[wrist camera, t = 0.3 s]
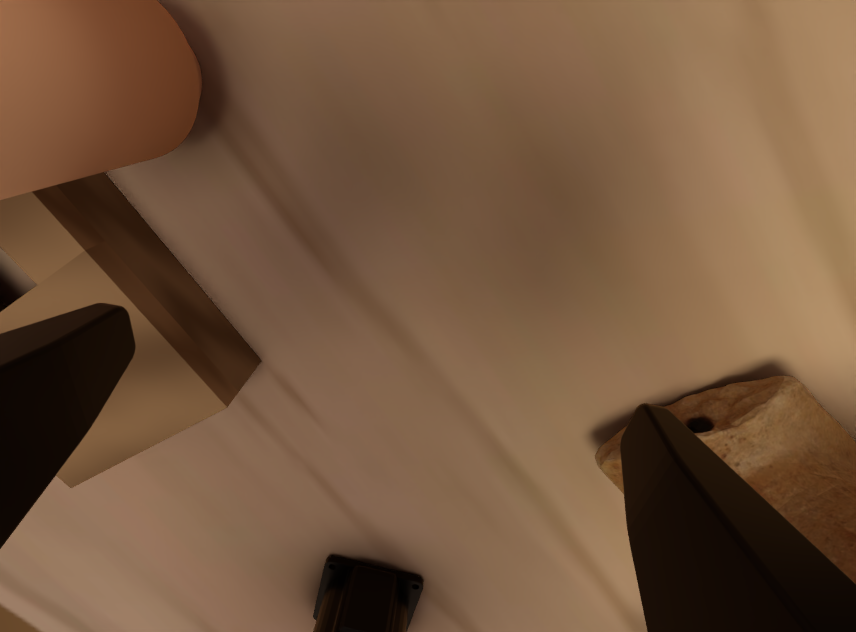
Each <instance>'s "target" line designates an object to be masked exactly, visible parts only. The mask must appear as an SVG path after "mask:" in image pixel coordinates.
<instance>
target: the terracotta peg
mask: <svg viewBox="0 0 856 632" xmlns="http://www.w3.org/2000/svg"><path fill="white" fill-rule="evenodd" d="M201 92H202V74H201V69H200V65H199V63H198V60H197V58H196V56H195V54H194V52H193V50H192V49H191V47H190V46H189V44H188V42H187V40H186V38H185V36H184V34H183V33H182V31H181V29H180V28H179V26H178V25H177V23H176V22H175V20H174V19H173V18H172V16H171V15H170V14H169V13H168V11H167V10H166V9H165V8H164V7H163V6H162V5H161V4H160V3H159V2H158V1H157V0H0V200H3V199H6V198H10V197H14V196H17V195H21V194H25V193H28V192H32V191H36V190H39V189H43V188H47V187H50V186H54V185H58V184H61V183H65V182H69V181H73V180H76V179H80V178H84V177H87V176H91V175H95V174H98V173H102V172H106V171H109V170H113V169H117V168H120V167H124V166H128V165H131V164H135V163H139V162H142V161H146V160H150V159H154V158H157V157H160V156H163V155H165V154H167V153H169V152H170V151H172V150H174V149H175V148H176V147H177V146H178V145H180V144H181V143H182V142H183V140H184V139H185V138H186V137H187V135H188V134H189V132H190V130H191V128H192V127H193V124H194V121H195V119H196V115H197V111H198V106H199V99H200V96H201Z"/></svg>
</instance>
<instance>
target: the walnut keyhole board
mask: <svg viewBox="0 0 856 632" xmlns="http://www.w3.org/2000/svg"><path fill="white" fill-rule="evenodd" d="M0 247H1V248H2V249H3V250H4V251H5V252H6V253H7V254H8V255H9V256H10V257H11V258H12V259H13V260H14V262H15V263H16V264H17V265H18V266H19V267H20V268H21V269H22V270H23V271H24V272H25V273H26V274H27V275H28V276H29V277H30V278H31V279H32V280H33V281H34V282H35V283H36V284H37V286H35V287H34V288H33V289H31V290H30V291H29V292H27V293H26V294H24V295H23V296H22V297H20V298H19V299H18V300H16V301H15V302H14V303H12V304H11V305H9V306H8V307H7V308H6V307H5V306H4V305H3V304H2V303H1V302H0V334H1V333H4V332H7V331H10V330H14V329H17V328H20V327H23V326H26V325H29V324H32V323H36V322H39V321H42V320H45V319H48V318H51V317H55V316H58V315H61V314H64V313H67V312H70V311H74V310H77V309H80V308H83V307H86V306H89V305H92V304H96V303H108V304H113V305H118V306H122V307H124V308H125V309H126V310H127V311H128V313H129V317H130V321H131V325H132V330H133V334H134V339H135V344H136V349H135V354H134V356H133V358H132V360H131V362H130V364H129V365H128V367H127V369H126V370H125V372H124V374H123V375H122V377H121V379H120V380H119V382H118V384H117V385H116V387H115V389H114V390H113V392H112V394H111V395H110V397H109V399H108V400H107V402H106V404H105V405H104V407H103V409H102V411H101V412H100V414H99V416H98V417H97V419H96V420H95V422H94V423H93V425H92V427H91V428H90V430H89V431H88V432H87V434H86V435H85V437H84V438H83V440H82V441H81V442H80V444H79V445H78V446H77V448H76V449H75V450H74V452H73V453H72V454H71V456H70V457H69V458H68V460H67V461H66V462H65V464H64V465H63V466H62V468H61V469H60V470H59V472H58V473H57V474H56V476H57V477H58V478H60V479H61V480H62V481H63V482H64V483H65V484H66V485H68V486H69V487H70V488H72V487H74V486H76V485H78V484H80V483H82V482H84V481H86V480H88V479H90V478H92V477H94V476H96V475H98V474H99V473H101V472H103V471H105V470H107V469H109V468H111V467H113V466H115V465H117V464H119V463H121V462H123V461H125V460H127V459H128V458H130V457H132V456H134V455H136V454H138V453H140V452H142V451H144V450H146V449H148V448H150V447H152V446H154V445H156V444H157V443H159V442H161V441H163V440H165V439H167V438H169V437H171V436H173V435H175V434H177V433H179V432H181V431H183V430H184V429H186V428H188V427H190V426H192V425H194V424H196V423H198V422H200V421H202V420H204V419H206V418H208V417H210V416H212V415H213V414H215V413H217V412H219V411H221V410H223V409H225V408H227V407H228V406H229V404H230V403H231V402H232V400H233V399H234V397H235V396H236V395H237V393H238V392H239V391H240V389H241V388H242V387H243V385H244V384H245V383H246V381H247V380H248V378H249V377H250V376H251V374H252V373H253V372H254V370H255V369H256V368H257V366H258V365H259V364H260V362H261V360H260V359H259V358H258V356H257V355H256V354H255V353H254V352H253V350H252V349H251V348H250V347H249V346H248V344H247V343H246V342H245V341H244V340H243V338H242V337H241V336H240V335H239V334H238V332H237V331H236V330H235V329H234V328H233V326H232V325H231V324H230V323H229V322H228V320H227V319H226V318H225V317H224V316H223V314H222V313H221V312H220V311H219V310H218V308H217V307H216V306H215V305H214V304H213V303H212V301H211V300H210V299H209V298H208V297H207V295H206V294H205V293H204V292H203V291H202V289H201V288H200V287H199V286H198V285H197V283H196V282H195V281H194V280H193V279H192V277H191V276H190V275H189V274H188V273H187V271H186V270H185V269H184V268H183V267H182V265H181V264H180V263H179V262H178V261H177V259H176V258H175V257H174V256H173V255H172V254H171V252H170V251H169V250H168V249H167V248H166V246H165V245H164V244H163V243H162V242H161V240H160V239H159V238H158V237H157V236H156V234H155V233H154V232H153V231H152V230H151V228H150V227H149V226H148V225H147V224H146V222H145V221H144V220H143V219H142V218H141V216H140V215H139V214H138V213H137V212H136V210H135V209H134V208H133V207H132V206H131V205H130V203H129V202H128V201H127V200H126V199H125V197H124V196H123V195H122V194H121V193H120V191H119V190H118V189H117V188H116V187H115V185H114V184H113V183H112V182H111V181H110V179H109V178H108V177H107V176H106V175H105V173H104V172H102V173H98V174H95V175H91V176H87V177H84V178H80V179H76V180H73V181H69V182H65V183H61V184H58V185H54V186H50V187H47V188H43V189H39V190H36V191H32V192H28V193H25V194H21V195H17V196H14V197H10V198H6V199H3V200H0Z"/></svg>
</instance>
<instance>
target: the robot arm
mask: <svg viewBox="0 0 856 632" xmlns="http://www.w3.org/2000/svg"><path fill="white" fill-rule="evenodd" d="M135 349H136V344H135V339H134V334H133V330H132V325H131V321H130V317H129V313H128V311H127V310H126V309H125V308H124V307H122V306H118V305H113V304H108V303H96V304H92V305H89V306H86V307H83V308H80V309H77V310H74V311H70V312H67V313H64V314H61V315H58V316H55V317H51V318H48V319H45V320H42V321H39V322H36V323H32V324H29V325H26V326H23V327H20V328H17V329H14V330H10V331H7V332H4V333H1V334H0V549H1V547H2V546H3V545H4V543H5V542H6V541H7V539H8V538H9V537H10V535H11V534H12V533H13V531H14V530H15V529H16V527H17V526H18V525H19V523H20V522H21V521H22V519H23V518H24V517H25V515H26V514H27V513H28V511H29V510H30V509H31V507H32V506H33V505H34V503H35V502H36V501H37V499H38V498H39V497H40V495H41V494H42V493H43V491H44V490H45V489H46V487H47V486H48V485H49V484H50V482H51V481H52V480H53V478H54V477H55V476H56V474H57V473H58V472H59V470H60V469H61V468H62V466H63V465H64V464H65V462H66V461H67V460H68V458H69V457H70V456H71V454H72V453H73V452H74V450H75V449H76V448H77V446H78V445H79V444H80V442H81V441H82V440H83V438H84V437H85V435H86V434H87V432H88V431H89V430H90V428H91V427H92V425H93V423H94V422H95V420H96V419H97V417H98V416H99V414H100V412H101V411H102V409H103V407H104V405H105V404H106V402H107V400H108V399H109V397H110V395H111V394H112V392H113V390H114V389H115V387H116V385H117V384H118V382H119V380H120V379H121V377H122V375H123V374H124V372H125V370H126V369H127V367H128V365H129V364H130V362H131V360H132V358H133V356H134V354H135ZM620 454H621V465H622V477H623V488H624V500H625V511H626V521H627V530H628V536H629V541H630V547H631V552H632V557H633V562H634V566H635V571H636V576H637V581H638V586H639V591H640V596H641V601H642V606H643V611H644V616H645V621H646V626H647V631H648V632H856V583H855V582H853V581H852V580H851V579H850V578H849V577H848V576H847V575H846V574H845V573H844V572H843V571H842V570H841V569H839V568H838V567H837V566H836V565H835V564H834V563H833V562H832V561H831V560H830V559H829V558H828V557H827V556H825V555H824V554H823V553H822V552H821V551H820V550H819V549H818V548H817V547H816V546H815V545H814V544H813V543H811V542H810V541H809V540H808V539H807V538H806V537H805V536H804V535H803V534H802V533H801V532H800V531H799V530H797V529H796V528H795V527H794V526H793V525H792V524H791V523H790V522H789V521H788V520H787V519H786V518H785V517H783V516H782V515H781V514H780V513H779V512H778V511H777V510H776V509H775V508H774V507H773V506H772V505H771V504H770V503H768V502H767V501H766V500H765V499H764V498H763V497H762V496H761V495H760V494H759V493H758V492H757V491H756V490H754V489H753V488H752V487H751V486H750V485H749V484H748V483H747V482H746V481H745V480H744V479H743V478H742V477H740V476H739V475H738V474H737V473H736V472H735V471H734V470H733V469H732V468H731V467H730V466H729V465H728V464H726V463H725V462H724V461H723V460H722V459H721V458H720V457H719V456H718V455H717V454H716V453H715V452H714V451H712V450H711V449H710V448H709V447H708V446H707V445H706V444H705V443H704V442H703V441H702V440H701V439H700V438H698V437H697V436H696V435H695V434H694V433H693V432H692V431H691V430H690V429H689V428H688V427H687V426H686V425H684V424H683V423H682V422H681V421H680V420H679V419H678V418H677V417H676V416H675V415H674V414H673V413H672V412H671V411H669V410H668V409H667V408H665V407H662V406H657V405H651V404H641V405H639V406H638V407H637V409H636V410H635V412H634V414H633V416H632V418H631V420H630V422H629V423H628V425H627V427H626V429H625V431H624V433H623V435H622V438H621V442H620ZM423 582H424V581H423V579H422V578H421V577H418V576H414V575H410V574H406V573H402V572H398V571H394V570H389V569H385V568H381V567H377V566H373V565H369V564H364V563H360V562H356V561H352V560H348V559H344V558H339V557H335V556H330V557H328V558H327V559H326V562H325V566H324V570H323V575H322V579H321V584H320V588H319V592H318V597H317V601H316V606H315V610H314V615H313V618H314V619H315V620H316V624H315V628H314V631H313V632H407V629H408V627H409V624H410V621H411V619H412V616H413V613H414V611H415V608H416V605H417V603H418V600H419V598H420V595H421V592H422V590H423Z"/></svg>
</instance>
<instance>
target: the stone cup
mask: <svg viewBox="0 0 856 632" xmlns="http://www.w3.org/2000/svg"><path fill="white" fill-rule="evenodd" d="M665 408H667V409H668V410H669V411H671V412H672V413H673V414H674V415H675V416H676V417H677V418H678V419H679V420H680V421H681V422H682V423H683V424H684V425H686V426H687V427H688V428H689V429H690V430H691V431H692V432H693V433H694V434H695V435H696V436H697V437H698V438H700V439H701V440H702V441H703V442H704V443H705V444H706V445H707V446H708V447H709V448H710V449H711V450H712V451H714V452H715V453H716V454H717V455H718V456H719V457H720V458H721V459H722V460H723V461H724V462H725V463H726V464H728V465H729V466H730V467H731V468H732V469H733V470H734V471H735V472H736V473H737V474H738V475H739V476H740V477H742V478H743V479H744V480H745V481H746V482H747V483H748V484H749V485H750V486H751V487H752V488H753V489H754V490H756V491H757V492H758V493H759V494H760V495H761V496H762V497H763V498H764V499H765V500H766V501H767V502H768V503H770V504H771V505H772V506H773V507H774V508H775V509H776V510H777V511H778V512H779V513H780V514H781V515H782V516H783V517H785V518H786V519H787V520H788V521H789V522H790V523H791V524H792V525H793V526H794V527H795V528H796V529H797V530H799V531H800V532H801V533H802V534H803V535H804V536H805V537H806V538H807V539H808V540H809V541H810V542H811V543H813V544H814V545H815V546H816V547H817V548H818V549H819V550H820V551H821V552H822V553H823V554H824V555H825V556H827V557H828V558H829V559H830V560H831V561H832V562H833V563H834V564H835V565H836V566H837V567H838V568H839V569H841V570H842V571H843V572H844V573H845V574H846V575H847V576H848V577H849V578H850V579H851V580H852V581H853V582H855V583H856V442H855V441H854V440H853V439H852V438H851V437H850V435H849V434H848V433H847V432H846V431H845V430H844V429H843V428H842V427H841V425H840V424H839V423H838V422H837V421H836V420H835V419H834V418H833V417H832V416H831V415H829V414H828V413H827V412H826V411H825V410H824V408H823V407H822V406H821V405H820V404H819V403H818V402H817V401H816V400H815V398H814V397H813V395H812V393H811V392H810V391H809V390H808V389H807V388H806V387H805V386H804V385H803V384H802V383H800V382H799V381H798V380H796V379H795V378H794V377H792V376H773V377H769V378H765V379H761V380H755V381H748V382H739V383H733V384H728V385H727V386H724V387H720V388H715V389H710V390H706V391H703V392H701V393H698V394H694V395H690V396H686V397H684V398H682V399H681V400H679V401H677V402H676V403H674V404H672V405H667V406H665ZM626 427H627V426H626ZM626 427H624V428H623V429H622V430H621V431H620V432H618V433H617V434H616V435H615V436H614V437H612V438H611V439H610V440H608V441H607V442H606V443H605V444H604V445H602V446H601V447H600V448H599V449H598V451H597V453H596V455H595V459H596V462H597V465H598V466H599V468H600V469H601V470H602V471H603V472H604V474H605V475H606V476H607V477H608V478H609V479H610V480H611V481H612V482H613V483H614V484H615V485H616V486H617V487H618V488H619V489H620V490H621V491H622V493H623V494H624V488H623V477H622V465H621V454H620V442H621V438H622V435H623V433H624V431H625V429H626Z"/></svg>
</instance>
